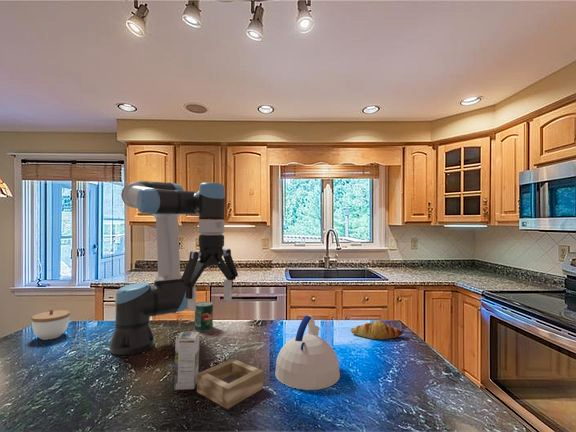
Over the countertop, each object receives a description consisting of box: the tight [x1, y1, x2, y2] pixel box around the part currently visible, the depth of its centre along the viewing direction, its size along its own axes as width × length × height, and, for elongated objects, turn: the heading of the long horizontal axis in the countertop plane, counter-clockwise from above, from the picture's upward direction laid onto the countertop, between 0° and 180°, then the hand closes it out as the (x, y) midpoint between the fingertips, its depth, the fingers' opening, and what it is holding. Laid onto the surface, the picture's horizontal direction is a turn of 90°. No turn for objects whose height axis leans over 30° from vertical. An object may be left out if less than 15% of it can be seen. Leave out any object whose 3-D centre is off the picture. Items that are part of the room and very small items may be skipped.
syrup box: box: [173, 331, 200, 391], centre depth 92 cm, size 6×6×14 cm
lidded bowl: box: [31, 309, 71, 341], centre depth 130 cm, size 13×13×11 cm
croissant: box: [350, 319, 404, 340], centre depth 133 cm, size 21×10×8 cm, turn 81°
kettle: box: [274, 314, 341, 391], centre depth 100 cm, size 20×21×18 cm
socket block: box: [196, 358, 264, 410], centre depth 89 cm, size 13×13×5 cm
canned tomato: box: [194, 301, 214, 332], centre depth 141 cm, size 8×8×11 cm
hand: (210, 304), depth 95 cm, fingers open, 13 cm apart
